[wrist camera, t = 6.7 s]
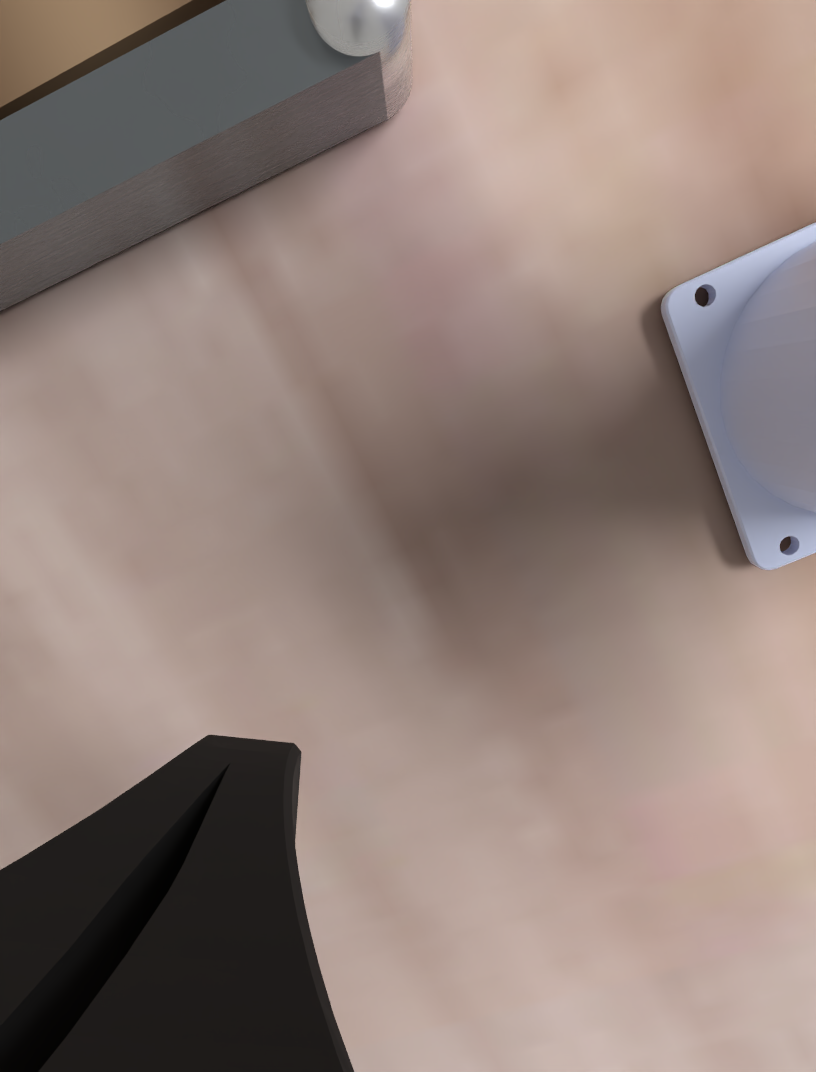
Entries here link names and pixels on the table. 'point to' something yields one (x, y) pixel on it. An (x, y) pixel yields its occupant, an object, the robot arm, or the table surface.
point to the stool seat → (75, 40)
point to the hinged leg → (190, 126)
